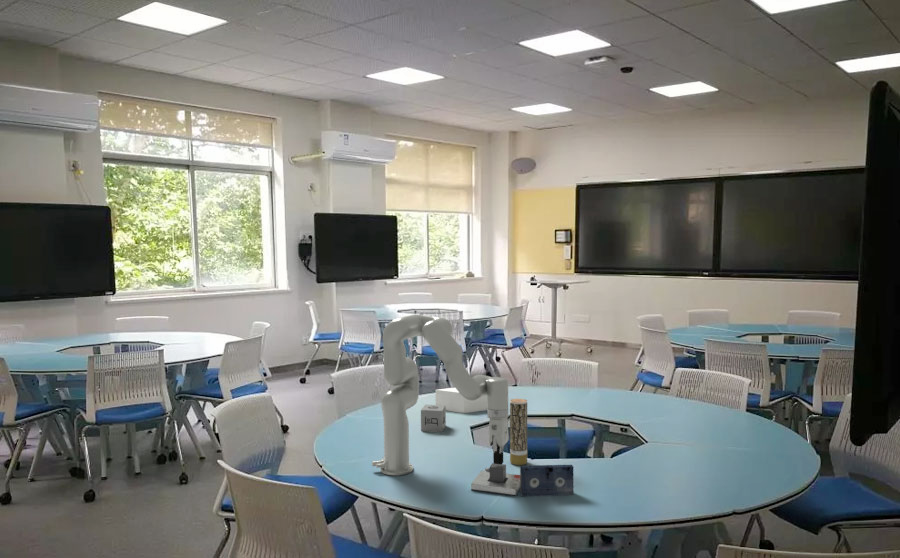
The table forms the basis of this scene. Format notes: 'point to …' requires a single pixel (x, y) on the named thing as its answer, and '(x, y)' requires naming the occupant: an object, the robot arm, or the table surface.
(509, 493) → the socket plate
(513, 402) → the paper tube
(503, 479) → the plug
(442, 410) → the icon cube
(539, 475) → the vhs cassette tape
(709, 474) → the table surface
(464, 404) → the block
